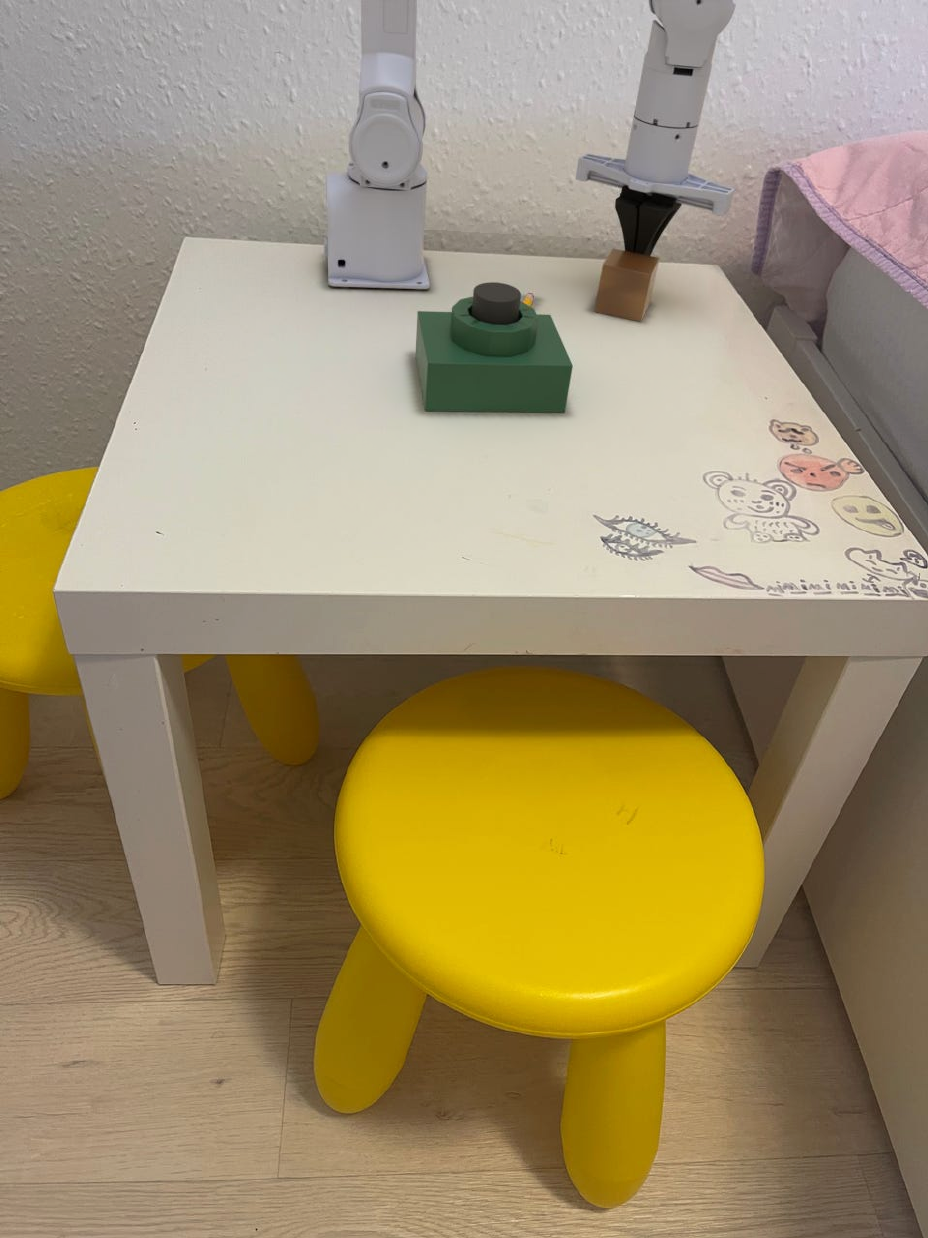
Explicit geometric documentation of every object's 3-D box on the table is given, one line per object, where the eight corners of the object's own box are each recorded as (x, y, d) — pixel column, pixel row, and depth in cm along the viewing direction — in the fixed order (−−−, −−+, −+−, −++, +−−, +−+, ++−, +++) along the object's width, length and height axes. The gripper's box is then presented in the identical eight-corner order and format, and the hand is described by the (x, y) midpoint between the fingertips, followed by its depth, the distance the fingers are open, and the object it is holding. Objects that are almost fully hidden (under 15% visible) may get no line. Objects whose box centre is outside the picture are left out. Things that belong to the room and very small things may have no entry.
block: (594, 311, 87) (602, 264, 84) (604, 294, 90) (612, 248, 87) (640, 321, 86) (651, 274, 83) (649, 304, 89) (659, 257, 86)
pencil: (533, 300, 88) (534, 293, 87) (516, 337, 82) (517, 329, 81) (525, 298, 88) (526, 291, 88) (508, 335, 82) (509, 328, 81)
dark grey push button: (474, 327, 69) (477, 300, 68) (468, 306, 72) (470, 281, 70) (521, 328, 70) (524, 302, 68) (513, 308, 72) (517, 282, 71)
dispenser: (424, 411, 70) (429, 337, 66) (415, 356, 77) (418, 286, 73) (564, 412, 72) (577, 340, 68) (543, 359, 79) (553, 290, 75)
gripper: (572, 110, 80) (550, 265, 89) (731, 146, 75) (691, 306, 85) (604, 96, 85) (580, 245, 94) (756, 129, 80) (715, 283, 89)
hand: (634, 273), depth 90 cm, fingers closed
